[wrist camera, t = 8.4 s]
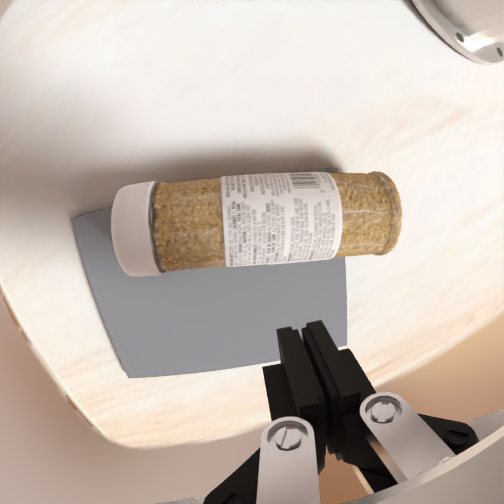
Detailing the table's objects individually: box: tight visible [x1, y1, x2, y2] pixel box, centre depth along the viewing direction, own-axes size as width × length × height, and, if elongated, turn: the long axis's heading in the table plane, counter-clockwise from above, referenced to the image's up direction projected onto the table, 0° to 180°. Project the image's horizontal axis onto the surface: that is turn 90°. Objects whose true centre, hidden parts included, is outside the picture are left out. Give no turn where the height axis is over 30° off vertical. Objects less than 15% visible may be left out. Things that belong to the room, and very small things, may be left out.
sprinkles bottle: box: [111, 171, 402, 277], centre depth 14 cm, size 5×5×14 cm
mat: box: [71, 168, 347, 378], centre depth 18 cm, size 16×12×1 cm
